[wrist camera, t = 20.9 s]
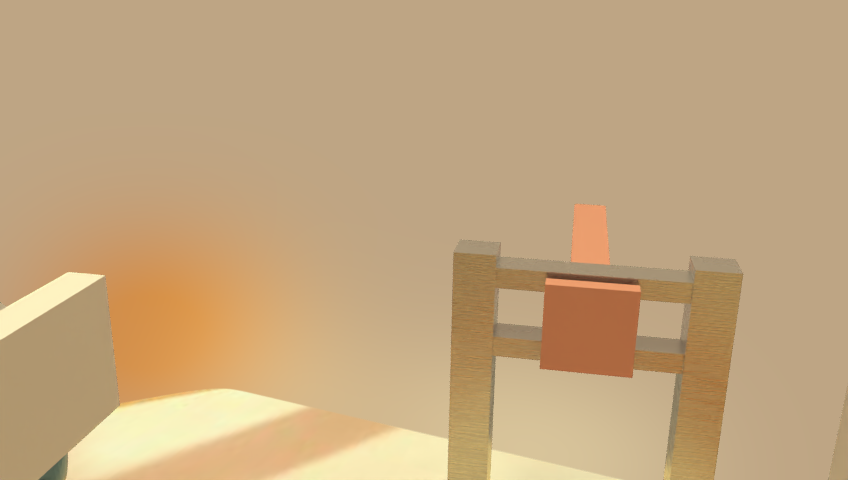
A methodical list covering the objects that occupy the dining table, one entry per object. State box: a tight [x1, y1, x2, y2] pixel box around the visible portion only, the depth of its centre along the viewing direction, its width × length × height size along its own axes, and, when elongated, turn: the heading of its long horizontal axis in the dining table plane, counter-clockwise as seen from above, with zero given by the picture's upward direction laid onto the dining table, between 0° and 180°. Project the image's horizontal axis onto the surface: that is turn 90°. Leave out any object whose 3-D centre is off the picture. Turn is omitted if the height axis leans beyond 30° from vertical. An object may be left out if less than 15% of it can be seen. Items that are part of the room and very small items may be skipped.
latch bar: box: [540, 204, 641, 378], centre depth 54 cm, size 22×5×5 cm, turn 169°
